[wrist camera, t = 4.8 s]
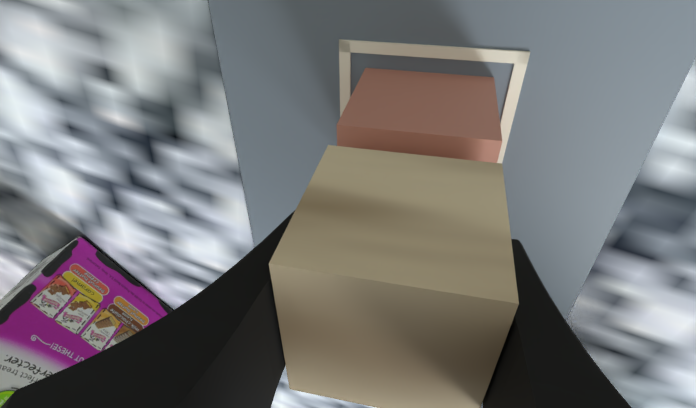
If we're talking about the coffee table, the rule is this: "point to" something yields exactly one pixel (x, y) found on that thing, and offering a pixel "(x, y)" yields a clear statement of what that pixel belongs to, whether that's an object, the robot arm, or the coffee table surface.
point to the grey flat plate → (475, 60)
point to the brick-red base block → (423, 115)
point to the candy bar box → (68, 314)
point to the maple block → (396, 280)
